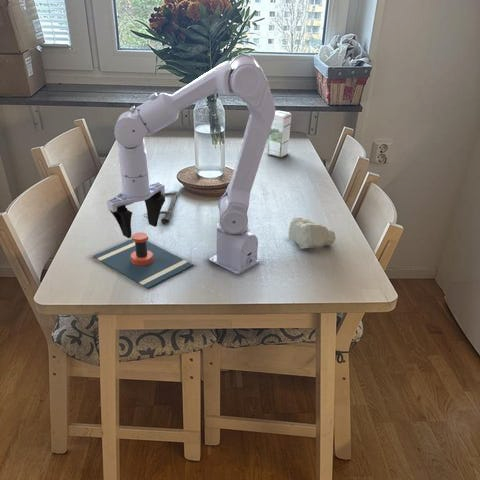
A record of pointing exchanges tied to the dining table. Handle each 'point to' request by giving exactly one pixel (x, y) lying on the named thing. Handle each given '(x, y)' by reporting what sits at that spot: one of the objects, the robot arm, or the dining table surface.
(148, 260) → the orange thread spool
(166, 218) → the hacksaw
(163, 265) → the tea towel
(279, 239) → the dining table surface
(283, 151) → the syrup box
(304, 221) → the decorative stone
